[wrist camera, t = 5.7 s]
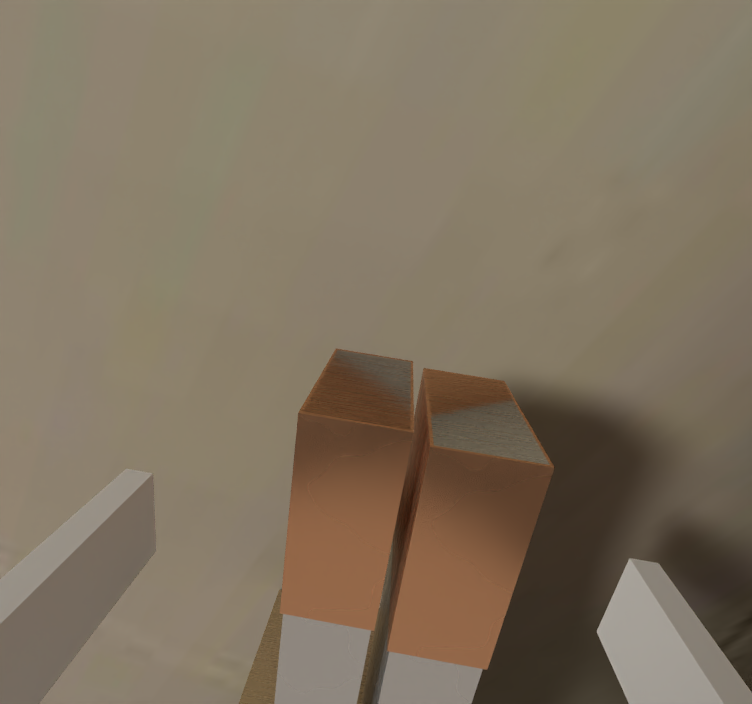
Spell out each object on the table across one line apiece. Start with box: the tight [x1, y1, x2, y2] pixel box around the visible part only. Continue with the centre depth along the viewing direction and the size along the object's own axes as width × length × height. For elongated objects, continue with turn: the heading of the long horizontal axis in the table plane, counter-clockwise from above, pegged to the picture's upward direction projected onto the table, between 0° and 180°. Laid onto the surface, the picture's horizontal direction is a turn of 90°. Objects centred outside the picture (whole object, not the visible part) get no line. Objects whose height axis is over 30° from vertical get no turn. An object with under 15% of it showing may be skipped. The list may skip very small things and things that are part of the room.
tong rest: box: [239, 349, 414, 704], centre depth 13 cm, size 20×8×9 cm, turn 172°
